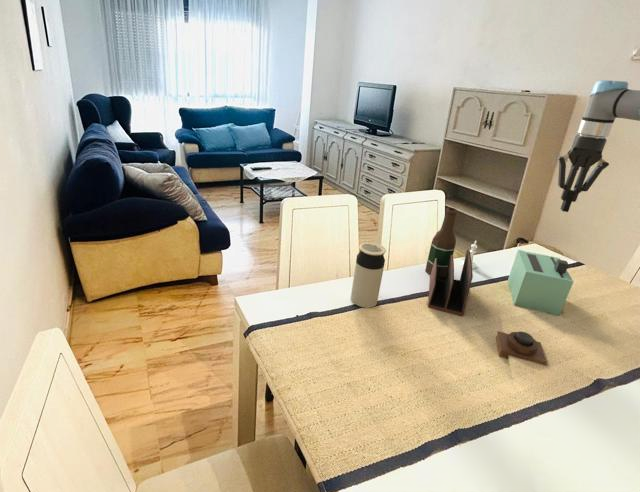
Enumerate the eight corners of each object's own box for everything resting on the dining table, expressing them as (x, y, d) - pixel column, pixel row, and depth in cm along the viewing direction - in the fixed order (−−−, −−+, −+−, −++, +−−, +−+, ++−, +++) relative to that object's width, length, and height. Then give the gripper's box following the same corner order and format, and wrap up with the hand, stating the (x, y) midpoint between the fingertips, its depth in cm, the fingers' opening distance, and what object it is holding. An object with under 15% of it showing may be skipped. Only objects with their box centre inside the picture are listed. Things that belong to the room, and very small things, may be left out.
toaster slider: (563, 269, 115) (566, 261, 114) (565, 273, 113) (568, 264, 112) (553, 267, 116) (557, 259, 115) (555, 271, 114) (559, 262, 113)
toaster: (548, 289, 128) (560, 257, 123) (559, 316, 115) (574, 281, 110) (507, 280, 132) (518, 249, 127) (514, 305, 119) (526, 271, 114)
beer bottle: (426, 277, 132) (442, 212, 122) (423, 266, 139) (437, 203, 129) (450, 280, 131) (467, 214, 121) (445, 268, 138) (461, 206, 128)
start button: (529, 339, 98) (531, 333, 97) (532, 348, 95) (534, 342, 94) (513, 335, 99) (516, 329, 99) (516, 343, 96) (518, 338, 96)
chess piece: (459, 264, 141) (466, 240, 137) (464, 260, 145) (471, 236, 141) (473, 269, 138) (480, 245, 134) (478, 265, 142) (485, 241, 138)
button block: (538, 348, 100) (542, 336, 99) (544, 369, 94) (549, 356, 92) (495, 337, 104) (499, 325, 102) (498, 356, 97) (503, 344, 95)
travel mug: (366, 312, 111) (375, 257, 104) (345, 299, 117) (352, 246, 110) (382, 302, 116) (392, 249, 109) (361, 290, 122) (369, 239, 114)
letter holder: (461, 284, 129) (471, 246, 123) (463, 316, 112) (475, 275, 106) (429, 276, 132) (438, 239, 126) (427, 307, 115) (437, 266, 109)
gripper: (613, 136, 115) (584, 210, 124) (562, 131, 119) (538, 203, 128) (623, 140, 108) (592, 218, 117) (569, 135, 112) (543, 210, 122)
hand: (564, 210), depth 123 cm, fingers closed
